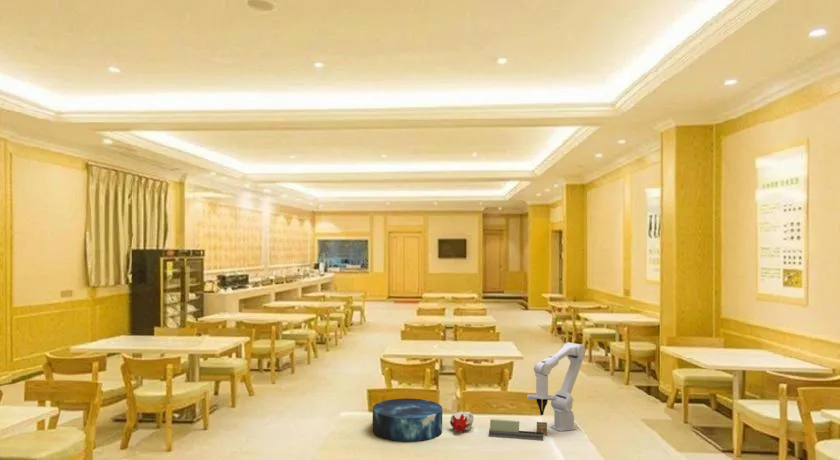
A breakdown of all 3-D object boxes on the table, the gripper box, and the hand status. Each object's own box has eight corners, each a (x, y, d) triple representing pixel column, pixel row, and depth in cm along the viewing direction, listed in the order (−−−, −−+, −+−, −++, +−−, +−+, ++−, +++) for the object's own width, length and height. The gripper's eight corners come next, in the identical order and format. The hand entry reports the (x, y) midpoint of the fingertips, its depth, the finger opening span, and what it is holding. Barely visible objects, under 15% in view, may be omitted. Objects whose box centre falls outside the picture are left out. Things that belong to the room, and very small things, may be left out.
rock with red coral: (473, 425, 294) (470, 439, 280) (452, 424, 296) (447, 436, 282) (473, 408, 293) (470, 421, 279) (452, 407, 296) (447, 419, 281)
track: (542, 435, 281) (542, 431, 281) (543, 440, 274) (543, 435, 274) (489, 431, 286) (489, 427, 286) (488, 436, 280) (488, 431, 280)
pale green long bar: (519, 433, 281) (519, 420, 281) (519, 434, 279) (519, 421, 279) (490, 430, 284) (490, 418, 284) (490, 432, 282) (490, 419, 282)
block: (536, 431, 288) (536, 421, 288) (546, 432, 287) (546, 422, 287) (536, 435, 283) (536, 424, 283) (547, 435, 282) (547, 425, 282)
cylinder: (362, 425, 296) (363, 402, 296) (424, 417, 311) (424, 395, 311) (387, 447, 264) (387, 421, 265) (454, 437, 279) (454, 413, 279)
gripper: (527, 387, 283) (527, 415, 283) (557, 389, 280) (557, 417, 280) (527, 384, 290) (527, 411, 290) (556, 386, 287) (556, 413, 287)
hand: (541, 414), depth 285 cm, fingers closed
